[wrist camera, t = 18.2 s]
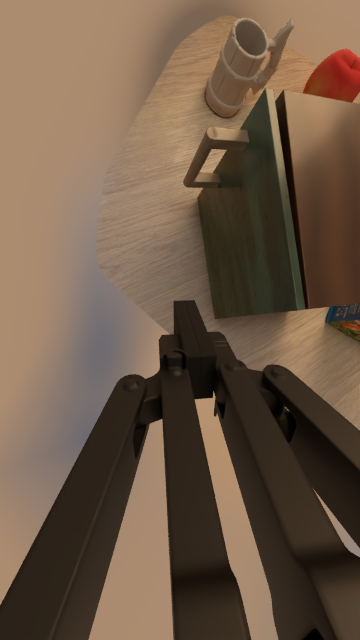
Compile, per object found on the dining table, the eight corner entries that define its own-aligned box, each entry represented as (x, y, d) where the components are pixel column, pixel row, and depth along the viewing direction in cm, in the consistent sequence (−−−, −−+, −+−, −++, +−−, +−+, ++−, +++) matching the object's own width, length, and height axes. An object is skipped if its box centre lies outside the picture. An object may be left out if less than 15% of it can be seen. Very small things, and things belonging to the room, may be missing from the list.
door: (188, 322, 41) (252, 317, 22) (169, 197, 41) (217, 80, 22) (219, 318, 43) (305, 309, 23) (202, 197, 43) (273, 88, 23)
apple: (328, 137, 52) (377, 93, 42) (292, 129, 49) (336, 80, 39) (326, 96, 52) (374, 42, 42) (290, 85, 49) (333, 26, 40)
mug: (198, 80, 44) (228, -10, 32) (251, 78, 47) (296, -4, 35) (210, 120, 44) (244, 46, 32) (262, 116, 47) (309, 47, 36)
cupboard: (220, 318, 43) (309, 308, 23) (207, 198, 43) (283, 89, 24) (288, 310, 47) (412, 297, 27) (275, 200, 47) (389, 109, 28)
